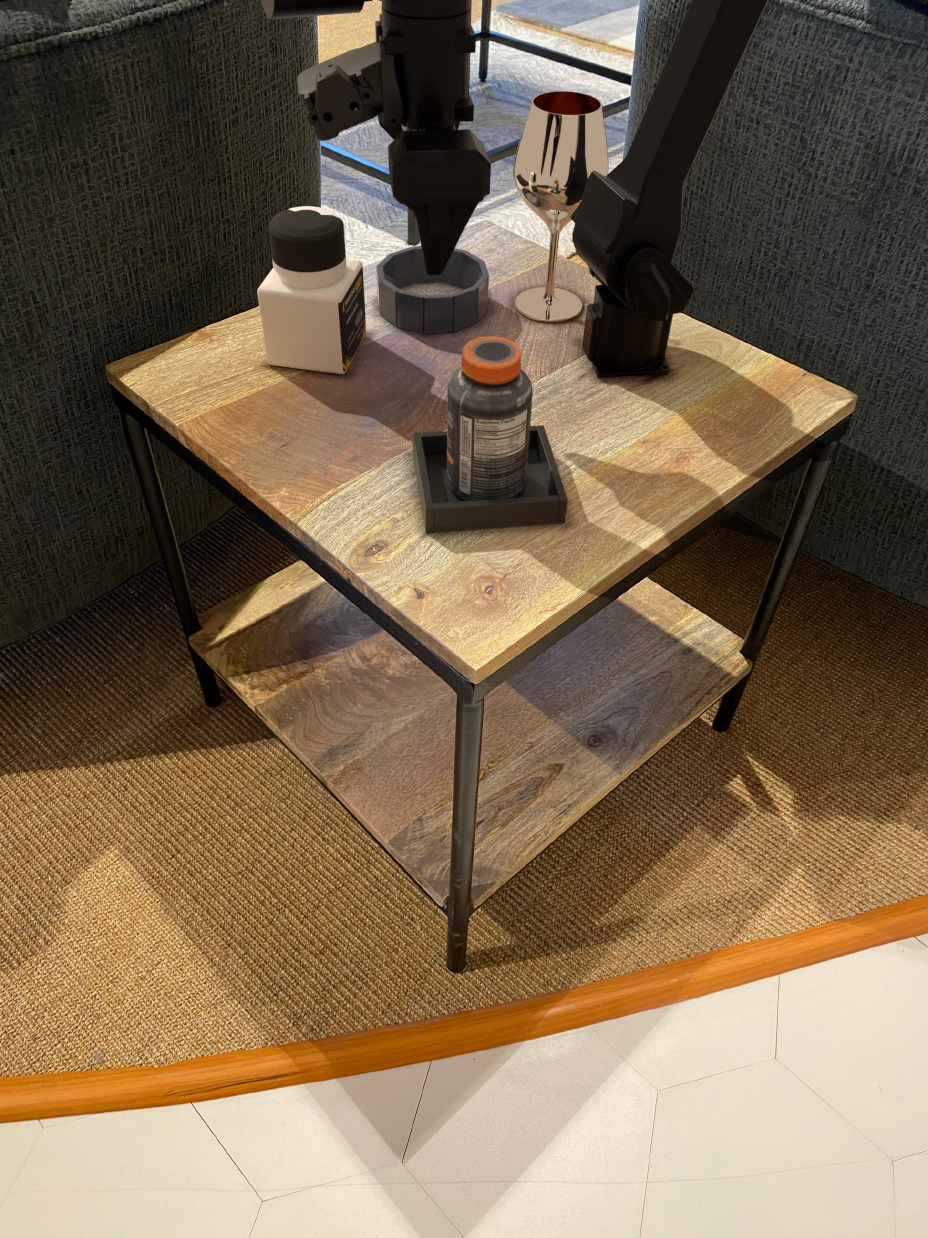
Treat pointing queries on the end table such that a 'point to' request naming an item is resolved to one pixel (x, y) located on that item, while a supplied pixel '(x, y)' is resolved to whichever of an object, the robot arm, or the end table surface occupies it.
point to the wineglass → (557, 182)
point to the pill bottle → (488, 421)
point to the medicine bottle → (311, 293)
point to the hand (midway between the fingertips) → (427, 245)
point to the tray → (451, 513)
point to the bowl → (432, 309)
